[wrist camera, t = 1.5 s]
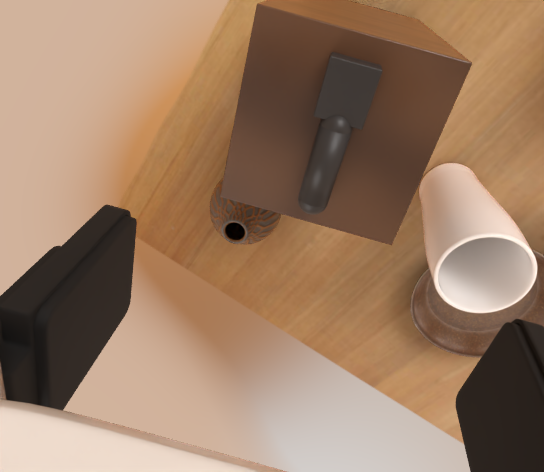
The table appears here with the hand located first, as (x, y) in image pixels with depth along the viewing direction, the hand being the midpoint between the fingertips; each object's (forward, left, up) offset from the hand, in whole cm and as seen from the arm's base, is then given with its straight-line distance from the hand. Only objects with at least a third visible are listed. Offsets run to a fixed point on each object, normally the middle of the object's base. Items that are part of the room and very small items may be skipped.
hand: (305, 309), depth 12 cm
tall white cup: (+8, +13, -34) cm, 37 cm away
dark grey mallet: (0, 0, -14) cm, 14 cm away
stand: (0, 0, -34) cm, 34 cm away
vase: (+14, -5, -34) cm, 37 cm away
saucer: (+18, +21, -34) cm, 44 cm away
